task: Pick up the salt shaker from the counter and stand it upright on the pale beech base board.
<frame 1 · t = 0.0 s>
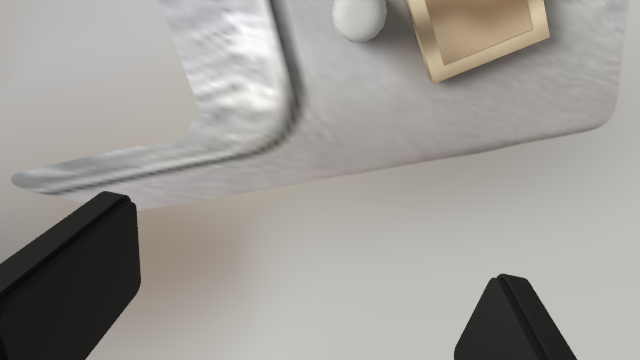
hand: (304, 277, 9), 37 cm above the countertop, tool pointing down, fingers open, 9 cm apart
base board: (467, 4, 39), on the countertop
salt shaker: (359, 13, 40), on the countertop
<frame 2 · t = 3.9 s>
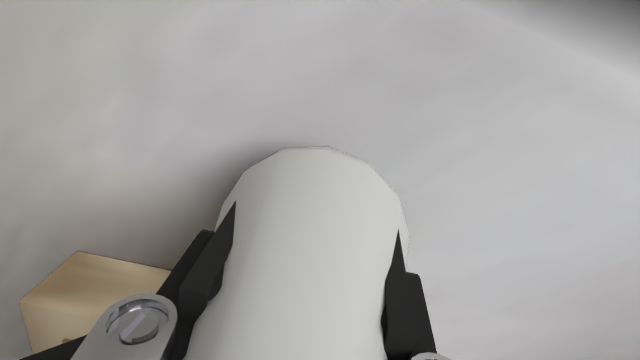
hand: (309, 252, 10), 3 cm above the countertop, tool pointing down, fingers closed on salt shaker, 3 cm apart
salt shaker: (321, 196, 13), on the countertop, touching gripper
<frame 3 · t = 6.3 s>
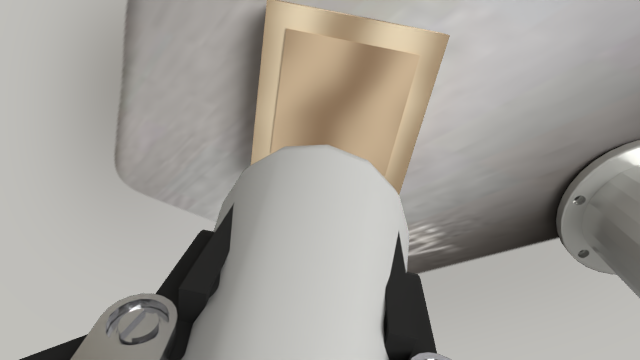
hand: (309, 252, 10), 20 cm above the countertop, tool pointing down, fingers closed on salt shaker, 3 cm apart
base board: (341, 98, 28), on the countertop
salt shaker: (321, 195, 13), point 17 cm above the countertop, touching gripper
when the fingers open (8 cm above the countertop, at t = 9.0 s): salt shaker drops 1 cm, resting on base board.
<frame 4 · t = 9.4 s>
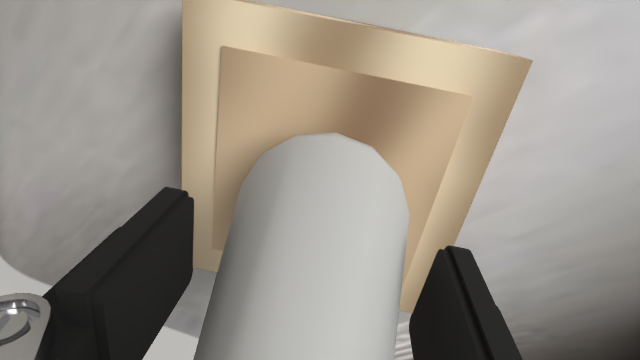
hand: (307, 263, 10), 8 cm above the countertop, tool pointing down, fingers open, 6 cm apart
base board: (329, 154, 17), on the countertop
salt shaker: (329, 181, 15), point 3 cm above the countertop, touching base board
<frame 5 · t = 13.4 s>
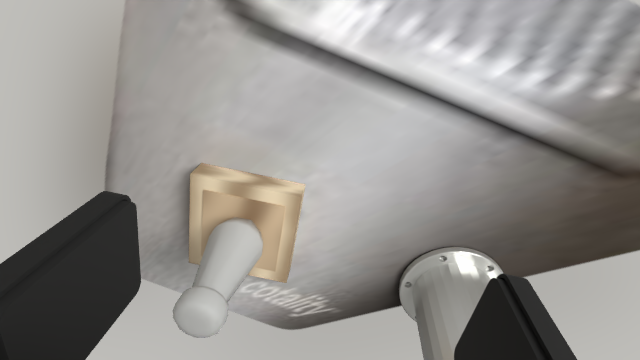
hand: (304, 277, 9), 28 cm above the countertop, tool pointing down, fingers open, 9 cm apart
base board: (248, 218, 43), on the countertop
salt shaker: (243, 231, 40), point 3 cm above the countertop, touching base board
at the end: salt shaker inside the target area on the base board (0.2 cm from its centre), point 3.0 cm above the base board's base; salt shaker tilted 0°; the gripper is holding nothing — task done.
